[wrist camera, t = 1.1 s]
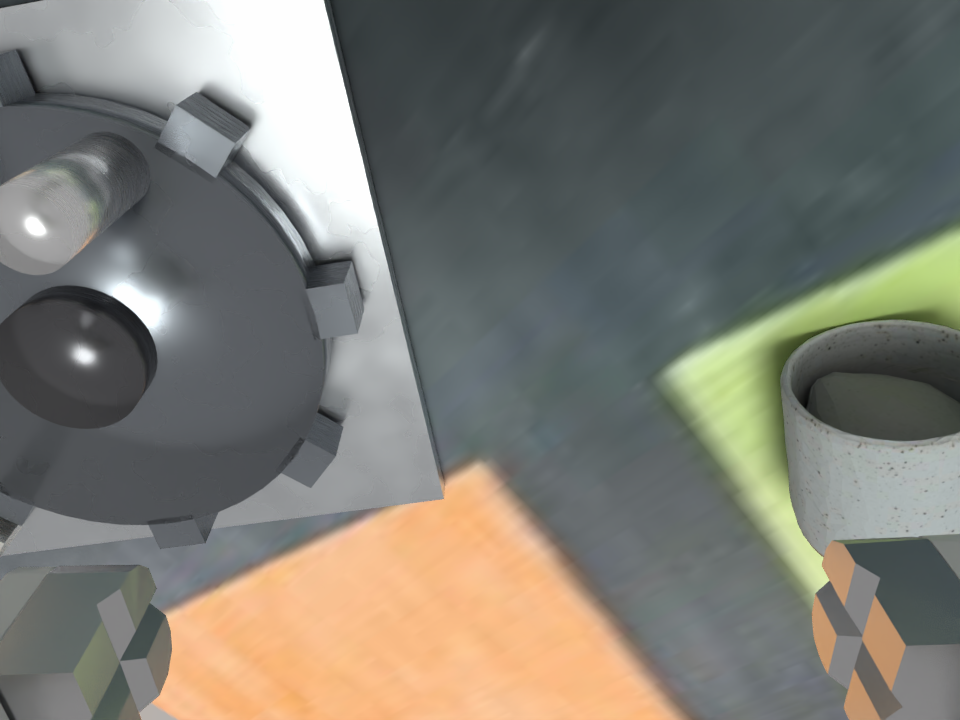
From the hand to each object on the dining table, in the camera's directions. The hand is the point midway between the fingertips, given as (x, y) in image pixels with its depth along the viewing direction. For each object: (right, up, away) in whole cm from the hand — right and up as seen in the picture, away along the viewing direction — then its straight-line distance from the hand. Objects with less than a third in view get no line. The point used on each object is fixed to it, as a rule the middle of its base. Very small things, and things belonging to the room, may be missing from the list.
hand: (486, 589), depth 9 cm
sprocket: (-14, +4, +20) cm, 25 cm away
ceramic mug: (+17, +2, +24) cm, 29 cm away
